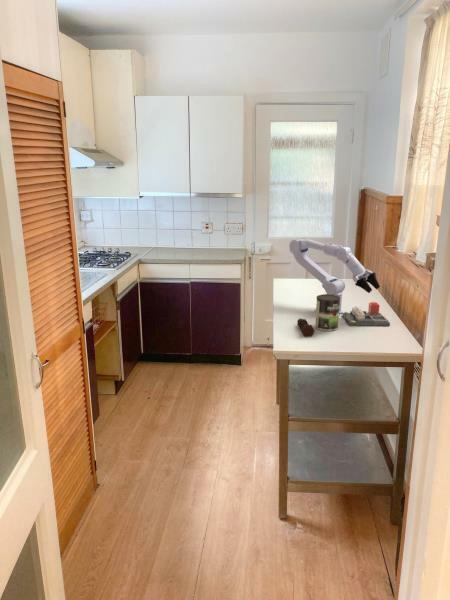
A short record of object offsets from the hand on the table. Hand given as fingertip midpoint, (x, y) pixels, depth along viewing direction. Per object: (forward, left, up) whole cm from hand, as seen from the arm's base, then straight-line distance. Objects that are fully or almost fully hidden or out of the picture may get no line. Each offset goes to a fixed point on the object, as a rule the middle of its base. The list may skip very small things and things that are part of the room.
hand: (374, 289), depth 223 cm
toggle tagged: (-7, -4, -13) cm, 15 cm away
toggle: (-7, +2, -13) cm, 15 cm away
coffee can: (-23, -11, -15) cm, 30 cm away
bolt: (-34, -15, -15) cm, 40 cm away
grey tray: (-3, -1, -15) cm, 15 cm away
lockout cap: (+4, +10, -15) cm, 18 cm away
